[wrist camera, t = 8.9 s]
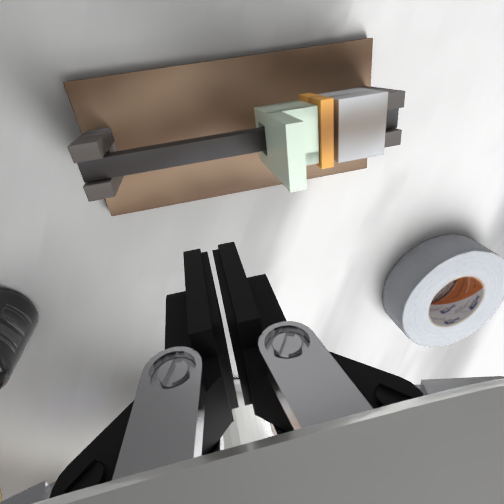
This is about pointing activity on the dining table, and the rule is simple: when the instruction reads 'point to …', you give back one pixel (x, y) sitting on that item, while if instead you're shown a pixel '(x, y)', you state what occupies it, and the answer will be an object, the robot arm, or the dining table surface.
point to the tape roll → (434, 279)
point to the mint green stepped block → (289, 140)
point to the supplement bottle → (14, 330)
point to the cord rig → (223, 123)
